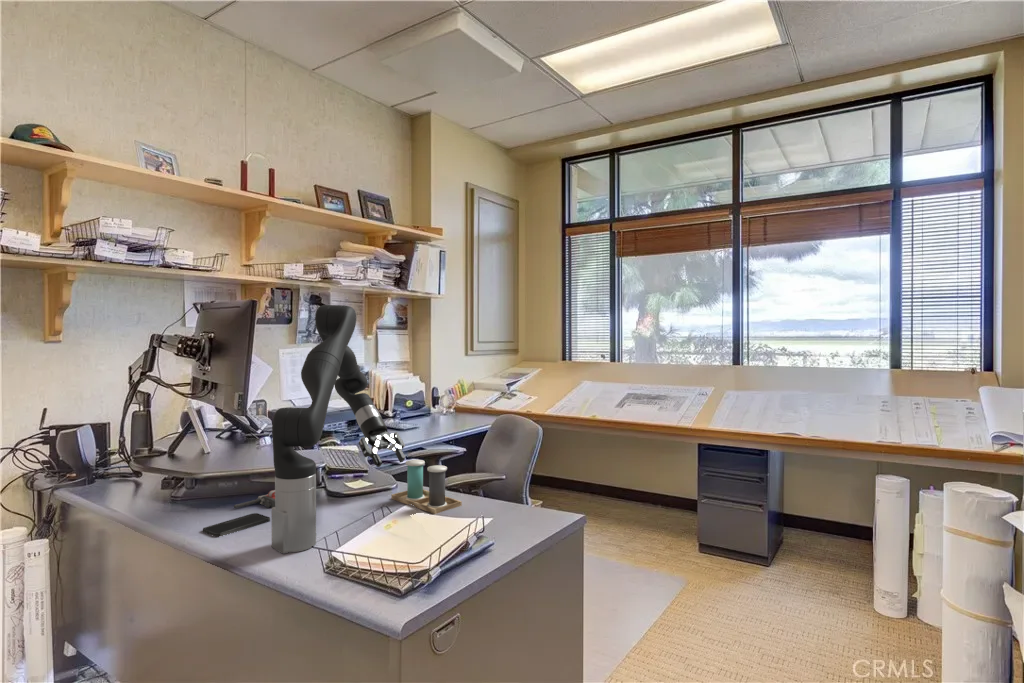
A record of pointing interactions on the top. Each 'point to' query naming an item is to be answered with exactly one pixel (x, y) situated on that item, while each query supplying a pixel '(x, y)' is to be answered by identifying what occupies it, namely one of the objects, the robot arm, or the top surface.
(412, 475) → the teal spool
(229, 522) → the phone
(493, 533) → the top surface
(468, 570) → the top surface
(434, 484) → the black spool
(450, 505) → the tray
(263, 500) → the red grey long piece
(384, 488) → the top surface
